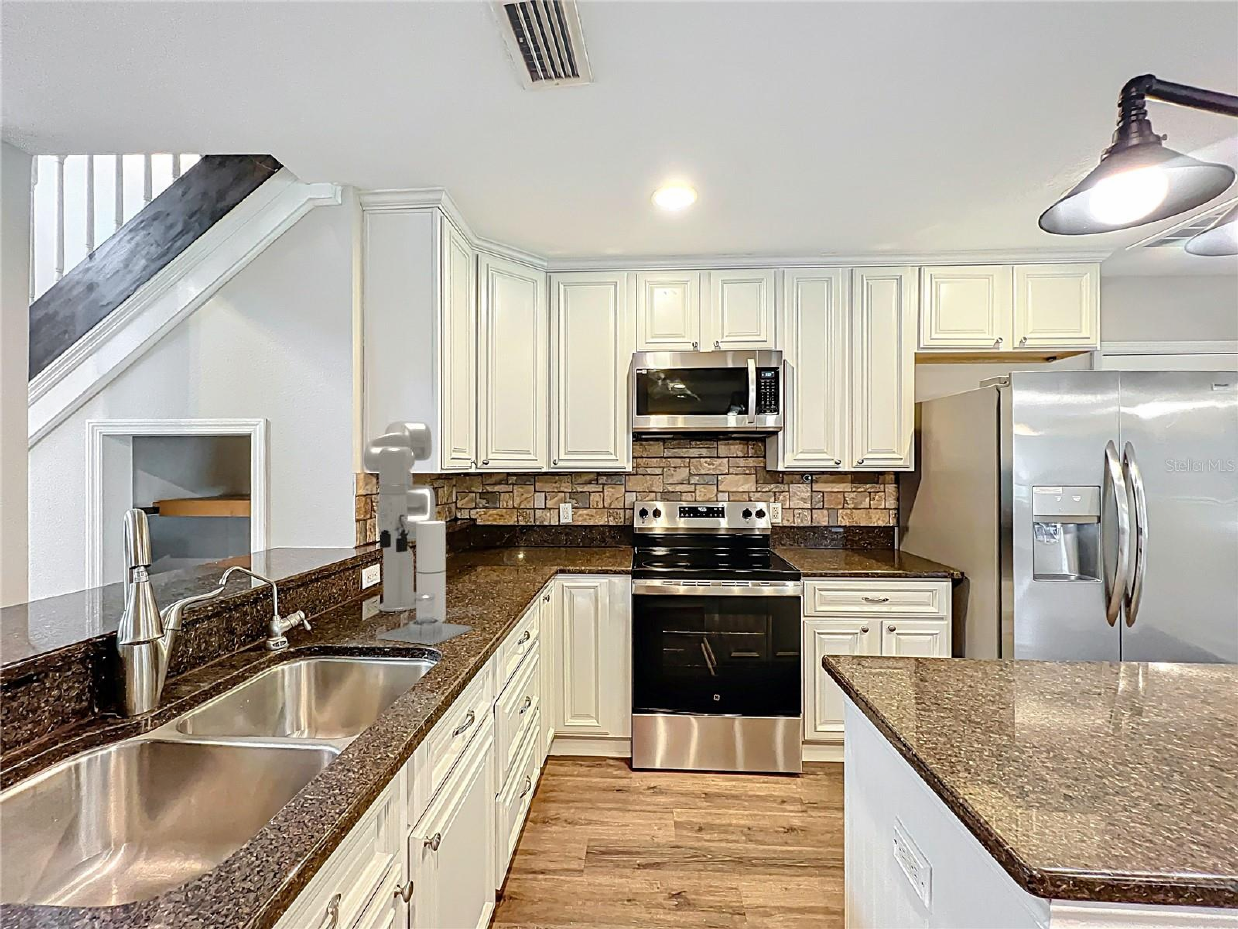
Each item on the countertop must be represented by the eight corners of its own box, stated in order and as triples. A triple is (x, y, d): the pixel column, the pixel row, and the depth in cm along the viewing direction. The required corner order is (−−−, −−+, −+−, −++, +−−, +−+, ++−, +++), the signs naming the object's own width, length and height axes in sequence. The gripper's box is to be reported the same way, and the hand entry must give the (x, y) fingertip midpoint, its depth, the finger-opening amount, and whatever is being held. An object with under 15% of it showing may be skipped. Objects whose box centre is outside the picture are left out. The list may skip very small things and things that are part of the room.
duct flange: (420, 624, 192) (420, 612, 192) (471, 629, 185) (471, 617, 185) (377, 639, 175) (377, 626, 175) (431, 646, 169) (431, 632, 169)
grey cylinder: (411, 632, 179) (411, 596, 179) (424, 627, 184) (424, 592, 184) (427, 633, 177) (427, 597, 177) (439, 629, 182) (439, 594, 182)
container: (410, 622, 194) (410, 523, 194) (428, 616, 202) (428, 520, 202) (433, 624, 191) (433, 524, 191) (451, 618, 199) (451, 521, 199)
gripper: (366, 489, 188) (367, 547, 188) (395, 493, 176) (395, 555, 176) (390, 488, 193) (391, 544, 194) (420, 491, 181) (420, 552, 182)
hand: (393, 549), depth 185 cm, fingers open, 9 cm apart
